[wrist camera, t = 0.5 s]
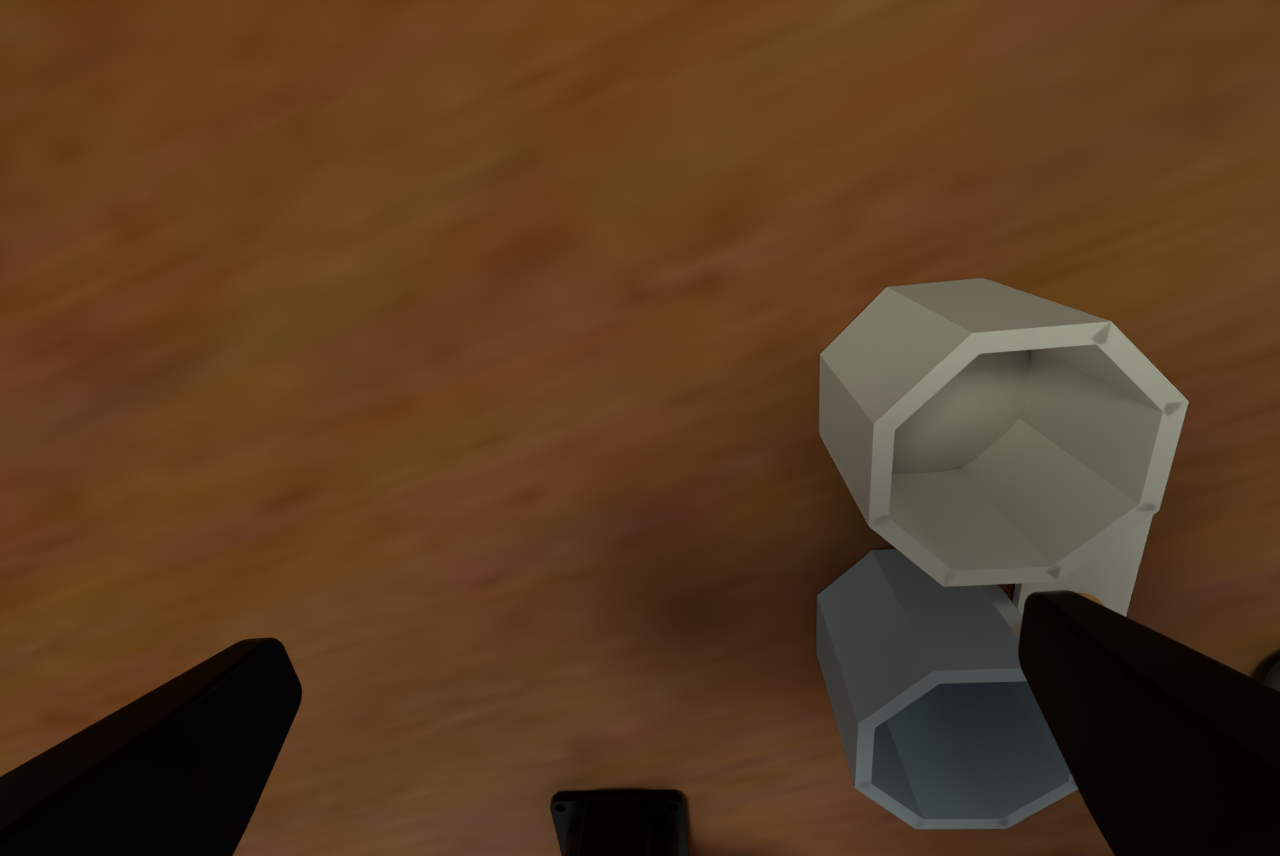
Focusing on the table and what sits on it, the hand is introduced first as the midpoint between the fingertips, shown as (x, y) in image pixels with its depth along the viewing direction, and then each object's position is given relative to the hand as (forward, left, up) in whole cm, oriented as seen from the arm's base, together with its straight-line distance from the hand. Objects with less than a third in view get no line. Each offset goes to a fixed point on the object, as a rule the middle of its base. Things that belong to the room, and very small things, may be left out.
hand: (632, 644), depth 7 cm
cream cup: (-2, -9, -14) cm, 17 cm away
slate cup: (-12, -9, -14) cm, 21 cm away
